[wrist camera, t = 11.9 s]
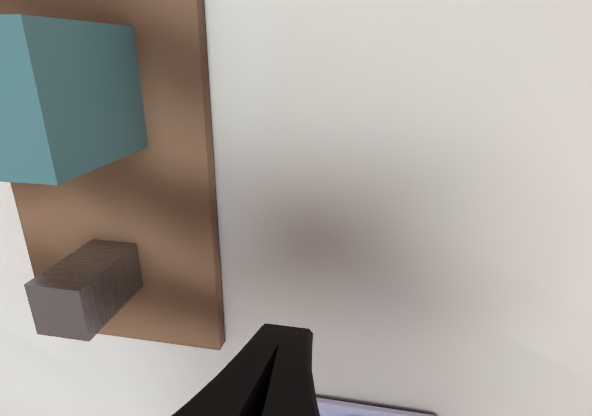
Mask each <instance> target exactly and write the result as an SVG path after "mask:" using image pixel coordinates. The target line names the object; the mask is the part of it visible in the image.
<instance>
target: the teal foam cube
mask: <svg viewBox="0 0 592 416" xmlns="http://www.w3.org/2000/svg"><path fill="white" fill-rule="evenodd" d="M146 147H148V140H147V132H146V124H145V116H144V108H143V100H142V92H141V84H140V76H139V68H138V60H137V52H136V44H135V36H134V28H133V26H127V25H117V24H108V23H98V22H89V21H79V20H70V19H60V18H50V17H41V16H31V15H22V14H0V181H3V182H17V183H31V184H45V185H60V184H62V183H64V182H67V181H69V180H71V179H74V178H76V177H78V176H81V175H83V174H85V173H88V172H90V171H92V170H95V169H97V168H99V167H102V166H104V165H106V164H109V163H111V162H113V161H116V160H118V159H121V158H123V157H125V156H128V155H130V154H132V153H135V152H137V151H139V150H142V149H144V148H146Z"/></svg>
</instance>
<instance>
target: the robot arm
mask: <svg viewBox="0 0 592 416" xmlns="http://www.w3.org/2000/svg"><path fill="white" fill-rule="evenodd" d="M312 341H313V333H312V332H311V331H310V330H309V329H305V328H297V327H289V326H281V325H273V324H264V325H263V326H261V328H260V329H259V330H258V331H257V333H256V334H255V335H254V336H253V337H252V338H251V340H250V341H249V342H248V343H247V344H246V345H245V346H244V348H243V349H242V350H241V351H240V352H239V353H238V354H237V355H236V356H235V357H234V358H233V359H232V360H231V361H230V362H229V364H228V365H227V366H226V367H225V368H224V369H223V370H222V371H221V372H220V373H219V374H218V375H217V376H216V377H215V378H214V379H213V380H212V381H211V382H209V383H208V384H207V385H206V386H205V387H204V388H203V389H202V390H201V391H200V392H199V393H198V394H197V395H195V396H194V397H193V398H192V399H191V400H190V401H189V402H187V403H186V404H185V405H184V406H183V407H182V408H180V409H179V410H178V411H177V412H176V413H174V414H173V415H172V416H434V415H429V414H423V413H416V412H410V411H403V410H396V409H390V408H383V407H376V406H370V405H363V404H356V403H350V402H343V401H337V400H330V399H323V398H317V397H316V395H315V389H314V382H313V376H312Z"/></svg>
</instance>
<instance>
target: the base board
mask: <svg viewBox="0 0 592 416" xmlns="http://www.w3.org/2000/svg"><path fill="white" fill-rule="evenodd" d="M0 14H22V15H31V16H41V17H50V18H60V19H70V20H79V21H89V22H98V23H108V24H117V25H127V26H133V28H134V36H135V44H136V52H137V60H138V68H139V76H140V84H141V92H142V100H143V108H144V116H145V124H146V132H147V140H148V147H146V148H144V149H142V150H139V151H137V152H135V153H132V154H130V155H128V156H125V157H123V158H121V159H118V160H116V161H113V162H111V163H109V164H106V165H104V166H102V167H99V168H97V169H95V170H92V171H90V172H88V173H85V174H83V175H81V176H78V177H76V178H74V179H71V180H69V181H67V182H64V183H62V184H60V185H45V184H31V183H17V182H11V186H12V190H13V194H14V198H15V202H16V206H17V210H18V214H19V218H20V222H21V226H22V230H23V233H24V237H25V241H26V245H27V249H28V253H29V257H30V261H31V265H32V269H33V273H34V277H36V276H38V275H39V274H41V273H42V272H44V271H45V270H47V269H48V268H50V267H51V266H53V265H54V264H56V263H57V262H59V261H60V260H62V259H63V258H65V257H66V256H68V255H69V254H71V253H72V252H74V251H75V250H77V249H78V248H80V247H81V246H83V245H84V244H86V243H87V242H89V241H90V240H92V239H97V240H108V241H118V242H128V243H137V246H138V253H139V260H140V267H141V274H142V281H143V287H142V288H141V289H140V290H139V291H138V292H137V293H136V294H135V295H134V296H133V297H132V298H131V299H130V300H129V301H128V302H127V303H126V304H125V305H124V306H123V307H122V308H121V309H120V310H119V311H118V312H117V313H116V315H115V316H114V317H113V318H112V319H111V320H110V321H109V322H108V323H107V324H106V325H105V326H104V327H103V328H102V329H101V330H100V331H99V332H98V334H105V335H113V336H120V337H127V338H135V339H142V340H149V341H156V342H164V343H171V344H178V345H185V346H193V347H200V348H207V349H215V350H220V349H221V347H222V346H223V344H224V342H225V335H224V319H223V303H222V287H221V270H220V254H219V238H218V221H217V205H216V189H215V173H214V156H213V140H212V124H211V107H210V91H209V75H208V58H207V42H206V26H205V10H204V0H0Z"/></svg>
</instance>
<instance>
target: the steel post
mask: <svg viewBox="0 0 592 416" xmlns="http://www.w3.org/2000/svg"><path fill="white" fill-rule="evenodd" d="M24 286H25V289H26V293H27V297H28V301H29V304H30V308H31V312H32V316H33V319H34V323H35V327H36V331H37V334H41V335H48V336H55V337H62V338H69V339H76V340H83V341H90V340H91V339H92V338H93V337H94V336H95V335H96V334H97V333H98V332H99V331H100V330H101V329H102V328H103V327H104V326H105V325H106V324H107V323H108V322H109V321H110V320H111V319H112V318H113V317H114V316H115V315H116V313H117V312H118V311H119V310H120V309H121V308H122V307H123V306H124V305H125V304H126V303H127V302H128V301H129V300H130V299H131V298H132V297H133V296H134V295H135V294H136V293H137V292H138V291H139V290H140V289H141V288H142V287H143V281H142V274H141V267H140V260H139V253H138V246H137V243H128V242H118V241H108V240H97V239H92V240H90V241H89V242H87V243H86V244H84V245H83V246H81V247H80V248H78V249H77V250H75V251H74V252H72V253H71V254H69V255H68V256H66V257H65V258H63V259H62V260H60V261H59V262H57V263H56V264H54V265H53V266H51V267H50V268H48V269H47V270H45V271H44V272H42V273H41V274H39V275H38V276H36V277H35V278H33V279H32V280H30V281H29V282H27V283H26V284H24Z"/></svg>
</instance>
